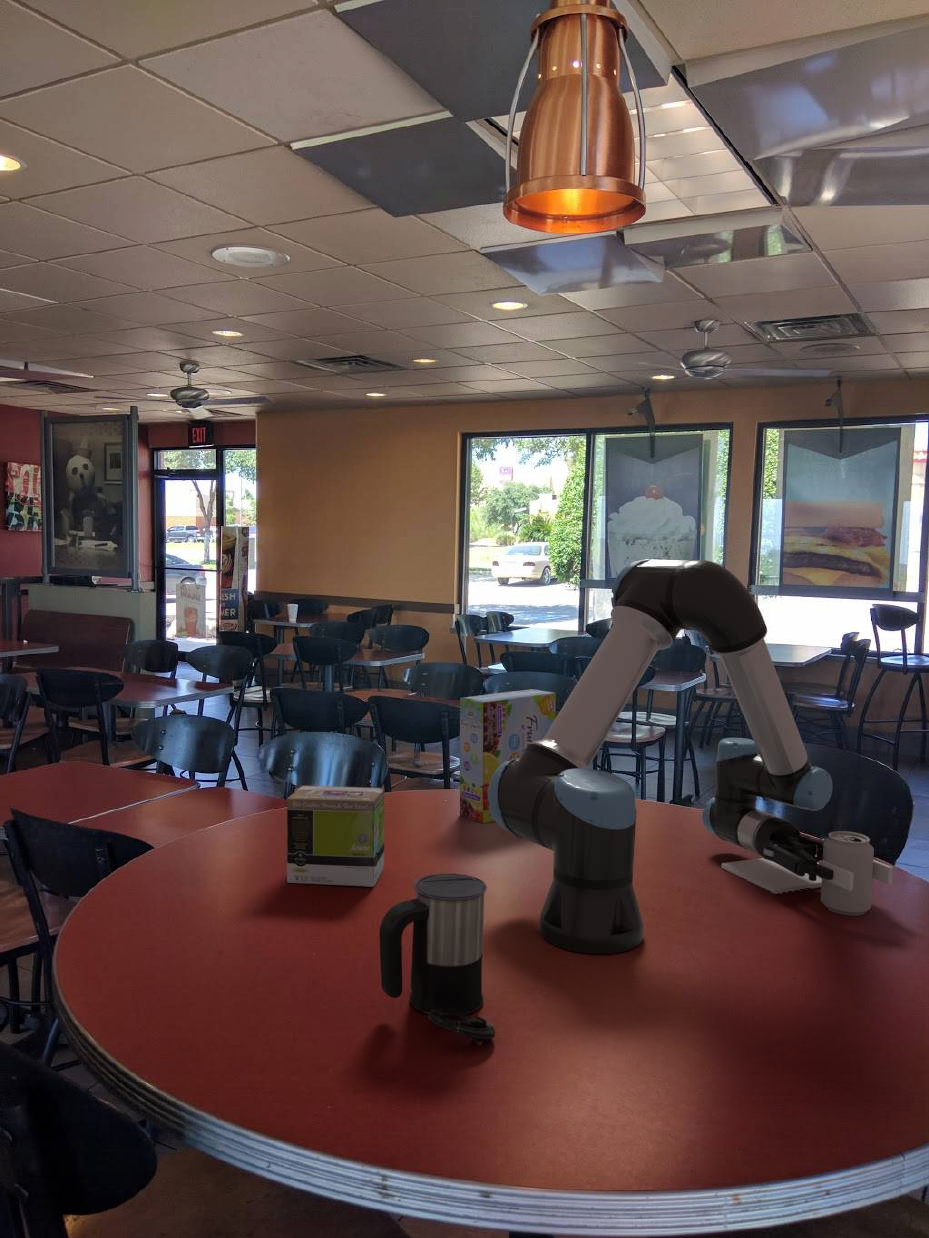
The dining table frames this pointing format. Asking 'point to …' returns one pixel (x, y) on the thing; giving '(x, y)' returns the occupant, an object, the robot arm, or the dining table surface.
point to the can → (856, 858)
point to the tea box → (335, 835)
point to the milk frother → (440, 951)
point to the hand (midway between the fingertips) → (871, 878)
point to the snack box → (497, 740)
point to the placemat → (770, 875)
